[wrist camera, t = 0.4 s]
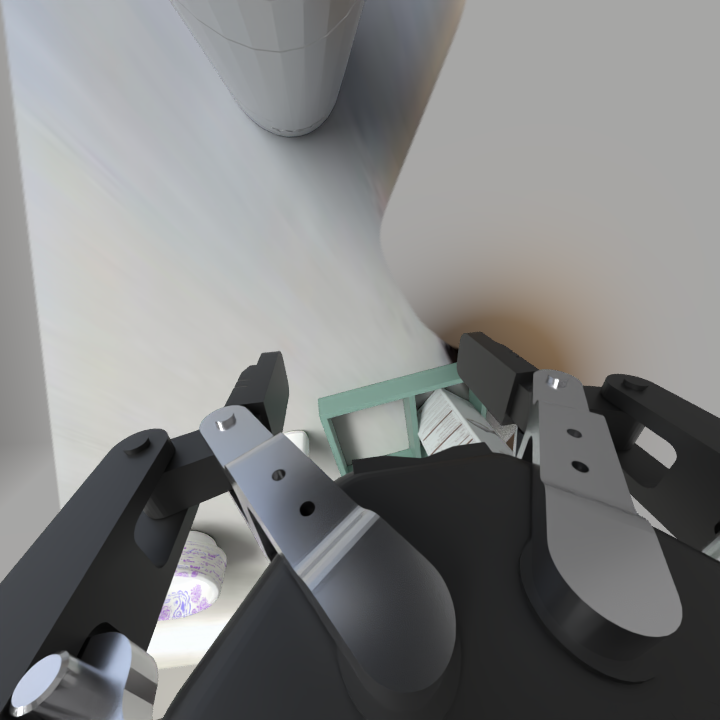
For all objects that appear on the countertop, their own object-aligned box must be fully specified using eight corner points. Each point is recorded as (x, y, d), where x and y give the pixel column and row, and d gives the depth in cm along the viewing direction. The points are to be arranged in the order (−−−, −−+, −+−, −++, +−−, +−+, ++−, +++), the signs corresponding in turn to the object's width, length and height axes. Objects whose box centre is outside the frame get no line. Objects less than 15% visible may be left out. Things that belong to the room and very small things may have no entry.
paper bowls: (206, 509, 44) (187, 565, 37) (245, 550, 51) (236, 602, 45) (113, 536, 43) (77, 597, 36) (167, 574, 51) (146, 630, 44)
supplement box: (471, 401, 41) (529, 469, 31) (441, 432, 44) (484, 506, 33) (439, 383, 38) (490, 451, 28) (408, 418, 41) (444, 494, 30)
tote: (318, 398, 36) (319, 416, 33) (475, 357, 37) (490, 370, 34) (343, 470, 45) (346, 489, 42) (471, 434, 46) (483, 450, 43)
